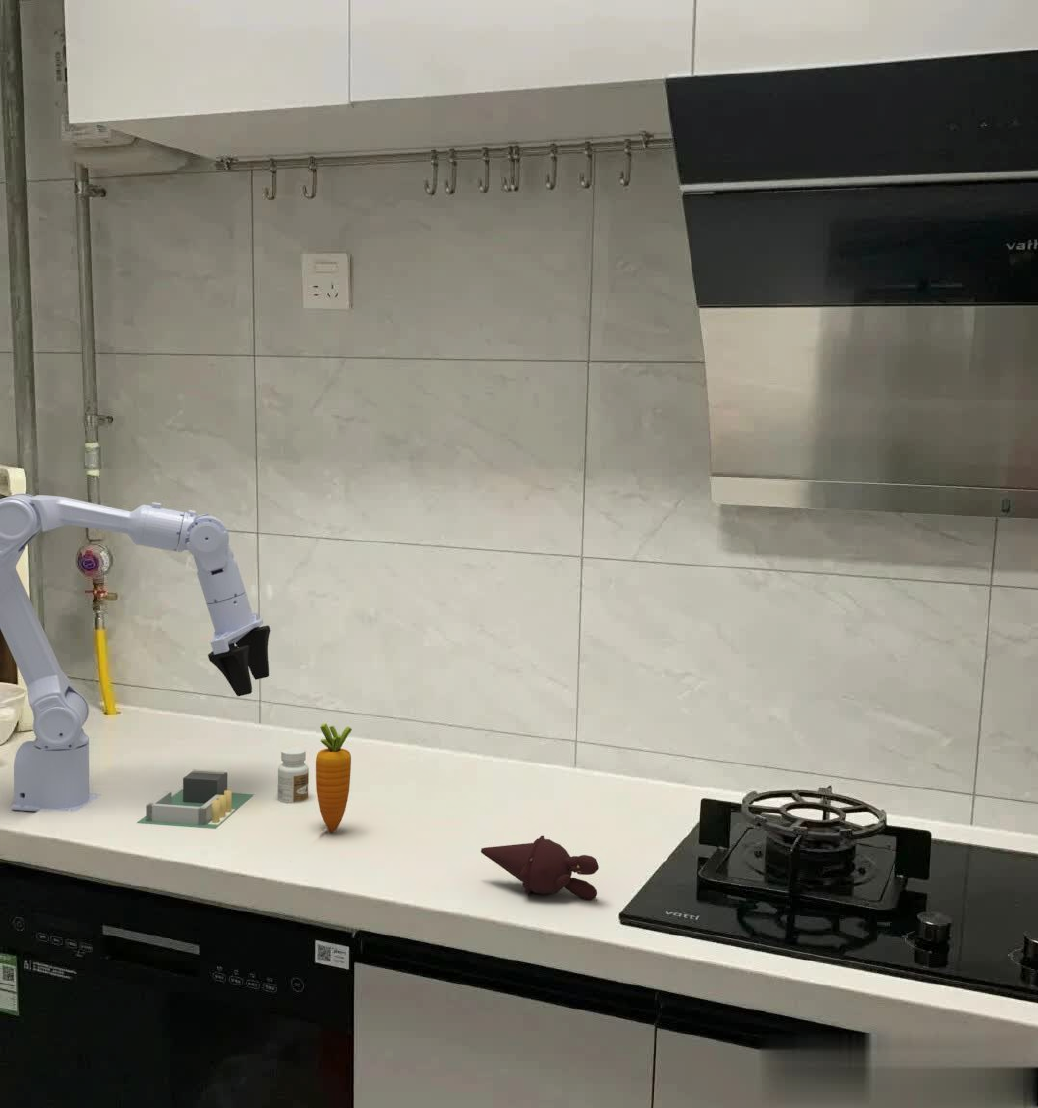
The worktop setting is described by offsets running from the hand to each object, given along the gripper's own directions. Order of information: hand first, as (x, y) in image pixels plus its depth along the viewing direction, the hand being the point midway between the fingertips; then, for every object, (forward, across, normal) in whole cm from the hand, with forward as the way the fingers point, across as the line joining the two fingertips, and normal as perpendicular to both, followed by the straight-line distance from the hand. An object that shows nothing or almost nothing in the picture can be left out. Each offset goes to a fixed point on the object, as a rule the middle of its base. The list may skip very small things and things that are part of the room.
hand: (253, 685), depth 169 cm
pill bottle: (+18, -3, -2) cm, 18 cm away
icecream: (+26, -29, -39) cm, 55 cm away
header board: (+14, -10, +9) cm, 19 cm away
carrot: (+19, -14, -11) cm, 26 cm away
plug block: (+13, -6, +10) cm, 17 cm away
